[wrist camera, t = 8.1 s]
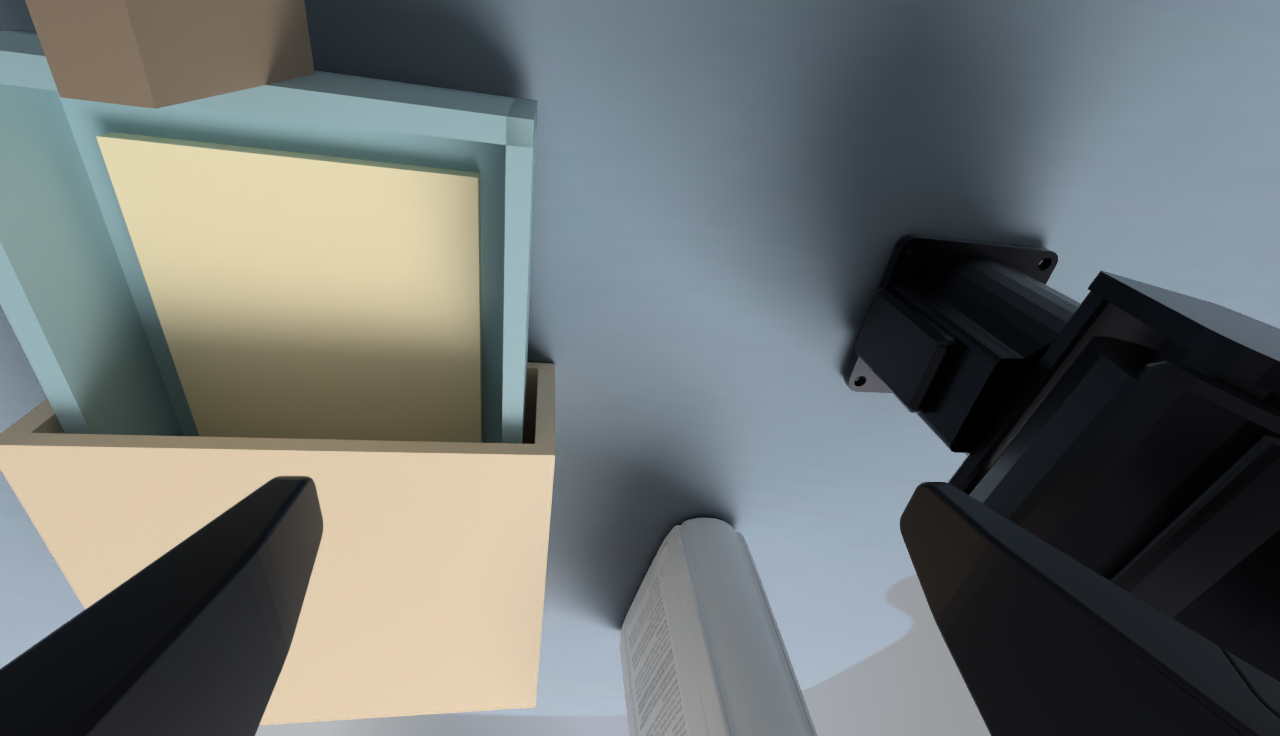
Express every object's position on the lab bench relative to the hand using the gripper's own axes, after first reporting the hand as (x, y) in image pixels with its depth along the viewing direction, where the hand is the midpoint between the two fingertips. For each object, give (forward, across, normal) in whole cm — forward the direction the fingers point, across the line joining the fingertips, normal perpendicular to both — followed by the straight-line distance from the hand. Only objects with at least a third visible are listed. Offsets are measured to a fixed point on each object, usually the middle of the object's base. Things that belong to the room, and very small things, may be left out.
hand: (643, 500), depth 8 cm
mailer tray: (+11, +8, +1) cm, 14 cm away
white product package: (+12, -6, +18) cm, 23 cm away
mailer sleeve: (+12, +8, +12) cm, 19 cm away
